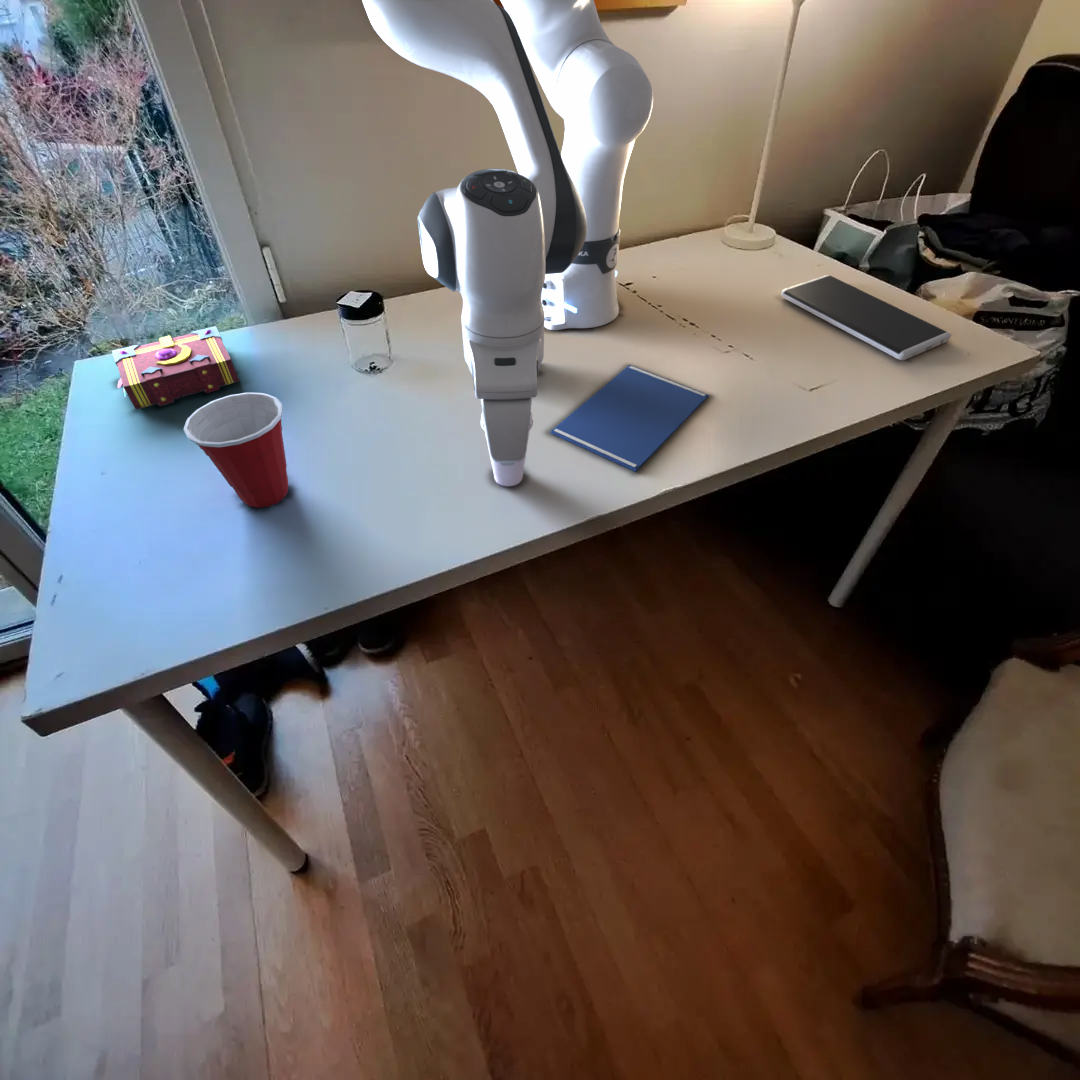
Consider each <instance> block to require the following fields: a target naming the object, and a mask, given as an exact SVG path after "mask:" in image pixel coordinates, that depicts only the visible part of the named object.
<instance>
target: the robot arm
mask: <svg viewBox="0 0 1080 1080" xmlns="http://www.w3.org/2000/svg"><path fill="white" fill-rule="evenodd" d="M361 1H362V5H363V8H364V10H365V12H366V15H367V17H368V20H369V22H370V24H371V26H372V28H373V30H374V31H375V32H376V34H377V35H378V36H379V38H380V39H381V40H382V41H383V42H384V43H385V44H386V45H387V46H388V47H389V48H390V49H391V50H393V51H394V52H395V53H396V54H398V55H399V56H400V57H402V58H403V59H406V61H409V62H410V63H413V64H415V65H416V66H418V67H419V66H420V67H422V68H424V69H429V70H432V71H434V72H438V73H441V74H444V75H447V76H449V77H452V78H453V79H456V80H459V81H461V82H463V83H465V84H467V85H468V86H471V87H472V88H474V89H475V90H476V91H478V92H480V93H481V94H482V95H483V96H484V97H485V98H486V99H487V100H488V101H489V103H490V104H491V105H492V107H493V109H494V111H495V113H496V115H497V117H498V120H499V123H500V125H501V128H502V131H503V135H504V137H505V140H506V143H507V145H508V148H509V151H510V153H511V157H512V159H513V162H514V164H515V168H516V171H512V170H509V169H503V168H485V169H484V168H483V169H480V170H476V171H474V172H472V173H470V174H468V175H466V176H465V177H463V179H462V180H461V181H460V182H459V184H458V186H453V187H447V188H446V187H445V188H443V189H440V190H438V191H436V192H435V191H434V192H432V193H431V194H430V195H429V196H428V197H427V199H426V200H425V202H424V204H423V206H422V207H421V209H420V210H419V213H418V216H417V226H418V235H419V243H420V244H419V245H420V249H421V257H422V263H423V266H424V268H425V269H424V270H425V271H426V273H427V274H428V275H429V276H431V277H432V278H433V279H435V280H436V281H437V282H438V283H440V284H441V285H443V286H444V287H445V288H447V289H448V290H450V291H451V292H457V293H460V296H461V297H462V310H461V315H460V318H461V319H460V320H461V321H460V322H461V331H462V333H461V334H462V342H463V356H464V357H463V358H464V361H465V363H466V364H467V367H468V370H469V372H470V374H471V377H472V382H473V390H474V397H475V399H477V400H480V405H481V411H482V412H483V417H484V423H485V429H486V434H487V439H486V441H487V440H488V444H487V447H488V446H489V449H488V452H489V451H490V454H491V457H492V459H493V461H495V462H500V464H501V465H503V466H507V465H514V464H515V462H519V461H522V460H523V459H524V457H525V454H526V455H527V452H526V450H527V451H528V445H527V442H528V443H529V439H528V433H529V434H530V432H529V424H530V414H531V412H532V401H533V400H532V399H534V398H536V397H537V396H538V390H539V373H540V369H541V365H542V362H543V360H544V355H545V353H544V352H545V328H546V329H547V330H549V331H559V330H566V329H591V328H597V327H601V326H604V325H608V324H609V323H611V322H613V321H614V320H615V319H616V318H617V317H618V316H619V314H620V307H619V303H618V295H617V281H616V280H617V279H616V277H617V276H618V271H617V269H616V268H617V264H618V259H619V252H620V242H621V229H620V227H619V224H620V215H621V214H620V213H621V206H622V197H623V188H624V187H623V186H624V182H625V181H624V180H625V176H626V172H627V168H628V164H629V161H630V157H631V154H632V151H633V149H634V146H635V143H636V139H637V138H638V137H639V136H640V135H641V134H642V132H644V130H645V128H646V126H647V124H648V123H649V120H650V118H651V114H652V111H653V106H654V105H653V103H654V92H653V88H652V84H651V82H650V80H649V77H648V75H647V74H646V72H645V70H644V69H643V67H642V65H641V64H640V62H639V61H638V60H637V59H636V57H635V56H634V55H632V54H631V53H629V52H628V51H626V50H624V49H622V48H621V47H619V46H617V45H615V44H614V43H613V41H611V39H610V38H609V36H608V34H606V32H605V30H604V28H603V25H602V22H601V20H600V17H599V14H598V9H597V7H596V3H595V0H499V1H500V2H501V4H502V6H500V4H498V3H496V2H495V1H494V0H361ZM533 71H534V72H533ZM534 74H535V75H534ZM535 76H536V78H537V80H538V82H539V84H540V86H541V88H542V90H543V92H544V94H545V96H546V98H547V101H548V102H549V104H550V107H552V109H553V110H554V112H555V113H556V114H557V115H559V116H560V117H561V118H562V119H563V123H564V124H563V125H564V134H563V135H564V136H563V144H562V148H561V150H560V148H559V145H558V143H557V140H556V137H555V134H554V131H553V128H552V125H551V121H550V120H549V116H548V113H547V110H546V106H545V105H544V102H543V98H542V95H541V92H540V89H539V86H538V83H537V80H536V78H535ZM538 372H539V373H538ZM486 434H485V435H486ZM490 454H489V455H490Z"/></svg>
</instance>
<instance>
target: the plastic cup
mask: <svg viewBox="0 0 1080 1080" xmlns="http://www.w3.org/2000/svg"><path fill="white" fill-rule="evenodd" d="M282 415H283V404H282V402H281V401H280V400H279V399H278V397H276V396H273V395H271V394H268V393H265V392H250V391H249V392H248V391H247V392H242V393H235V394H229V395H226V396H223V397H219V398H216V399H214V400H211V401H209V402H208V403H206V404H204V405H203V406H201V407H199V408H197V409H196V410H195V411H194V412H193V413H192V414H191V415H190V416H189V417H187V419H186V421H185V424H184V426H183V431H184V433H185V435H186V437H187V439H188V440H189V441H190V442H193V443H195V445H197V446H198V447H199V449H200V450H202V451H203V452H204V454H205V455H206V456H207V457H208V458H209V459H210V461H211V462H212V463H213V465H214V466H215V467H216V469H217V470H218V472H219V473H220V474H221V476H222V477H223V478H224V480H225V481H226V483H227V484H228V485H229V486H230V487H231V488H232V489H233V491H234V492H235V493H236V495H237V496H238V498H239V499H240V501H242V502H243V503H244V504H245V505H246V506H249V507H250V508H257V509H260V508H268V507H271V506H273V505H276V504H278V503H279V502H280V501H282V500H284V499H285V497H286V496H287V494H288V493H289V478H288V471H287V467H288V466H287V458H286V452H285V445H284V438H283V426H282V417H283V416H282Z"/></svg>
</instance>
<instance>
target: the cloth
mask: <svg viewBox="0 0 1080 1080" xmlns="http://www.w3.org/2000/svg"><path fill="white" fill-rule="evenodd" d="M709 395H710V394H708V393H706V392H703V391H700V390H698V389H695V388H692V387H689V386H687V385H684V384H682V383H679V382H677V381H674V380H672V379H669V378H666V377H663V376H661V375H658V374H655V373H652V372H650V371H647V370H644V369H642V368H640V367H638V366H637V367H636V366H634V365H631V364H629V365H627V366H626V367H625V368H623V369H622V370H621V371H620V372H619V373H618V374H617V375H615V376H614V377H613V378H611V380H610V381H608V382H607V383H606V384H604V385H603V386H602V387H601V388H600V389H599V390H597V392H595V393H594V394H593V395H591V397H589V398H588V399H587V400H586V401H584V402H583V403H582V404H581V405H579V407H577V408H576V409H575V410H574V411H573V412H571V414H569V415H568V416H567V417H565V418H564V419H563V420H562V421H561V422H559V423H558V424H557V425H555V427H554V428H552V429H551V430H550V433H549V434H551V435H554V436H555V437H558V438H560V439H562V440H563V441H566V442H569V443H571V444H573V445H575V446H577V447H580V448H582V449H584V450H586V451H588V452H591V453H593V454H595V455H597V456H599V457H601V458H603V459H606V460H608V461H611V462H613V463H614V464H617V465H618V466H621V467H624V468H625V469H628V470H630V471H633V472H634V473H637V471H638V470H639V469H641V467H642V466H644V464H645V463H646V462H647V461H648V460H649V459H650V458H651V457H652V456H653V455H654V454H655V453H656V452H657V451H658V450H659V449H660V448H661V447H662V446H663V445H664V443H666V442H667V440H668V439H669V438H670V437H672V436H673V434H674V433H675V432H676V431H677V430H678V429H679V428H680V427H681V426H682V425H683V424H684V423H685V422H686V421H687V420H688V418H690V417H691V415H693V414H694V413H695V411H697V409H698V408H699V407H700V406H701V405H702V404H703V403H704V402H705V401H706V400H707V399H708V398H709Z"/></svg>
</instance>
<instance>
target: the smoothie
mask: <svg viewBox="0 0 1080 1080" xmlns="http://www.w3.org/2000/svg"><path fill="white" fill-rule="evenodd" d="M480 426H481V428H482V430H483V431H484V434H485V438H486V442H487V443H486V444H487V448H488V453H489V458H490V462H491V468H492V472H493V478H494V481H495V482H496V484H498V485H500V486H502V487H514V486H517V485H518V484H520V483H521V482H522V480H523V477H524V475H523V474H524V471H525V463H526V457H527V451H528V449H527V450H526V454H525V457H524V459H523V460H522V461H519V462H515V464H514V465H507V466H503V465H501V464H500V462H495V461H493V459H492V457H491V454H490V451H489V446H488V440H487V434H486V429H485V423H484V417H483V411H482V412H481V415H480ZM533 426H534V415H533V412H532V411H531V414H530V424H529V433H528V440H529V438H530V431H531V430H532V428H533ZM528 444H529V441H528V442H527V446H528Z"/></svg>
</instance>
